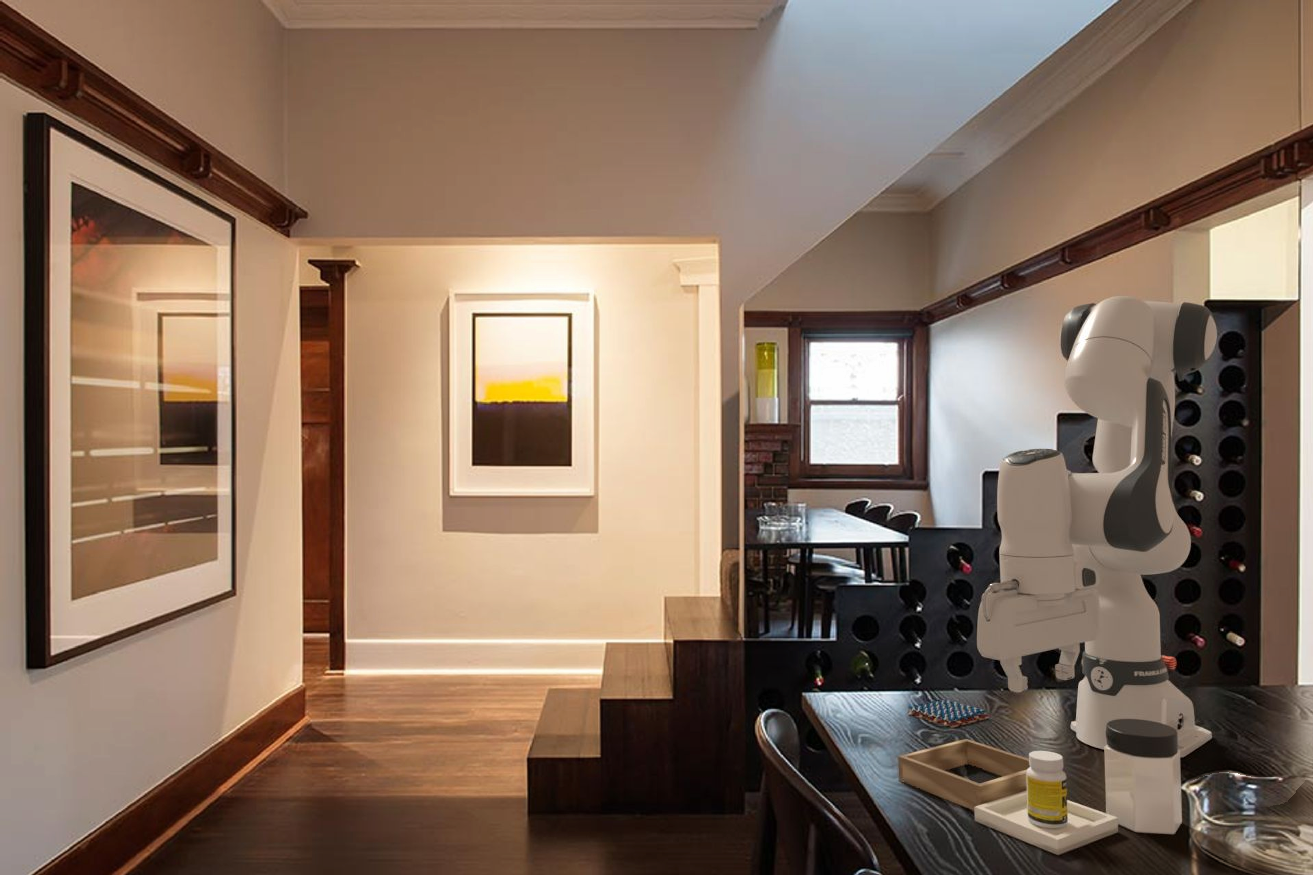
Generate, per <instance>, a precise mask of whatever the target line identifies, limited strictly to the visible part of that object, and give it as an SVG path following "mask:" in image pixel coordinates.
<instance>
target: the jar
mask: <svg viewBox="0 0 1313 875" xmlns="http://www.w3.org/2000/svg"><path fill="white" fill-rule="evenodd" d="M1106 739H1107V745H1106V746H1105V748H1104V749H1103V750H1104V782H1105V785H1104V786H1105V813H1106V814H1109V815H1112V816H1115V817H1118V826H1121V827H1123V828H1126V829H1127V830H1130V831H1132V832H1134V833H1137V834H1139V833H1140V834H1141V833H1142V834H1156V835H1157V834H1159V835H1175V834H1176V832H1177V831H1178V829H1179V828H1180V826H1181V824H1182V823H1183V816H1182V814H1183V813H1182V811H1183V809H1182V782H1181V781H1182V779H1181V778H1182V775H1181V774H1182V773H1181V757H1180V750H1179V749H1178V734H1177V731H1176V730H1175V729H1174V728H1172V727H1170V726H1168V725H1165V724H1162V723H1158V722H1154V721H1148V720H1140V719H1116V720H1112V721H1109V722H1108V723H1107V724H1106Z"/></svg>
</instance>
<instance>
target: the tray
mask: <svg viewBox="0 0 1313 875" xmlns="http://www.w3.org/2000/svg"><path fill="white" fill-rule="evenodd" d="M974 809H975V811H974V822H977V823H978V824H981V825H984V826H986V827H989V828H991V829H993V830H995V831H998V832H1001V833H1003V834H1005V835H1008V836H1010V837H1013V838H1016V839H1017V840H1020V841H1023V842H1024V843H1028V844H1030V845H1032V846H1035V847H1036V848H1039V849H1042V850H1044V851H1047V852H1049V853H1052V854H1055V855H1057V856H1060V855H1062V854H1065V853H1067V852H1070V851H1073V850H1075V849H1077V848H1078V849H1079V848H1080V847H1084V846H1087V845H1088V844H1092V843H1093V842H1096V841H1098V840H1101V839H1103V838H1106V837H1110V836H1112V835H1114V834H1116V833H1119V824H1118V817H1115V816H1112V815H1109V814H1106V812H1103V811H1100V810H1097V809H1094V808H1091V807H1089V806H1086V805H1083V804H1080V803H1077V802H1074V801H1071V800H1069V799H1067V813H1068V823H1067V825H1066V826H1065V827H1063V828H1058V829H1051V828H1043V827H1039V826H1036V825H1034V824H1032V823H1031V822H1030V821H1029V820H1028V818H1027V790H1026V791H1023V792H1020V793H1017V794H1014V795H1011V796H1007V797H1004V798H1001V799H998V800H995V801H992V802H988V803H985V804H982V805H979V806H976V807H974Z"/></svg>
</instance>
